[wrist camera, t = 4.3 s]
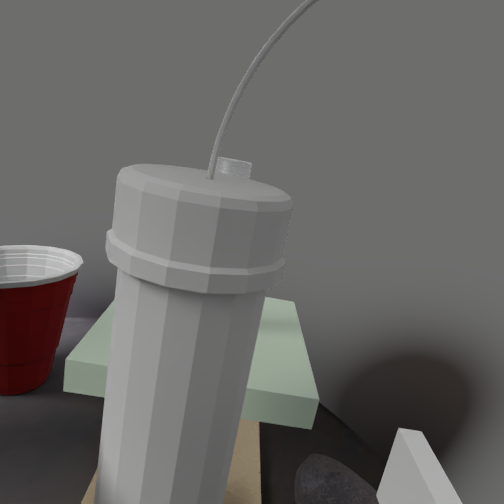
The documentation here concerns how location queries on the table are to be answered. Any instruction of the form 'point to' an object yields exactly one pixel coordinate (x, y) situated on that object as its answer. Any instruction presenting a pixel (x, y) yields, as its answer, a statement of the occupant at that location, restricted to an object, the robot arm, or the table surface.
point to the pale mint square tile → (260, 377)
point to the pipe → (185, 320)
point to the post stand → (247, 440)
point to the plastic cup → (32, 312)
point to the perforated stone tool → (330, 483)
